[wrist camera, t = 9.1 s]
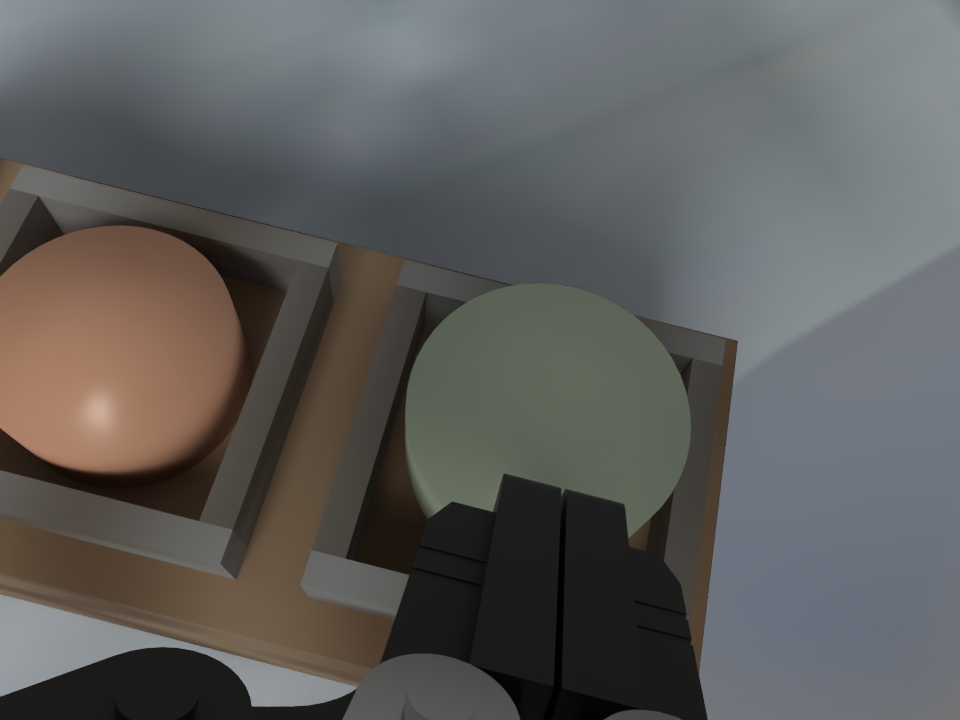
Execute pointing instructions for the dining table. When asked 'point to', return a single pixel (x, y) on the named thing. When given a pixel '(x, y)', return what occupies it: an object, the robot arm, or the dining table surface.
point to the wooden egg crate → (292, 451)
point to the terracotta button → (119, 356)
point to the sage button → (545, 403)
